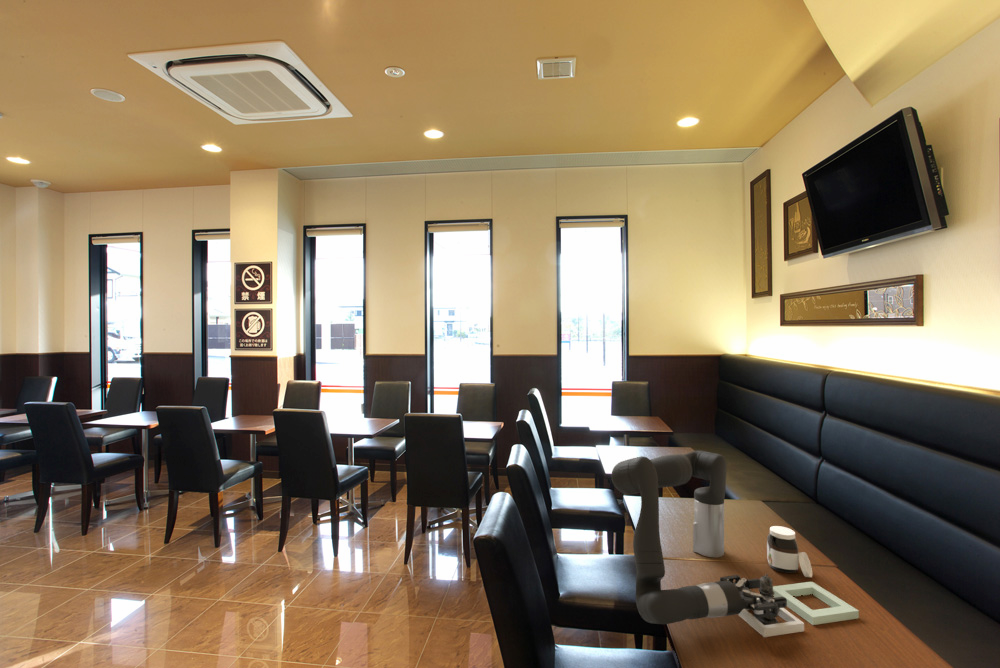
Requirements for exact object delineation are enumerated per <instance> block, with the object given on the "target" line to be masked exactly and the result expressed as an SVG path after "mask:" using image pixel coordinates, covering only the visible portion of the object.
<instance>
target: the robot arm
mask: <svg viewBox="0 0 1000 668" xmlns="http://www.w3.org/2000/svg"><path fill="white" fill-rule="evenodd" d="M727 468H728V467H727V461H726V458H725V456H724V455H723V454H720V453H716V452H715V453H714V452H709V451H705V450H693V451H690V452H687V453H685V454H682V453H681V454H680V453H679V454H669V455H667V454H666V455H662V456H658V457H655V458H652V459H651V458H648V457H647V456H636V457H633V458H629V459H625V460H622V461H619V462H618V463H617V464H615V466H614V467H613V468H612V471H611V481H612V484H613V486H614V488H616V490H617V491H619V492H620V493H622V494H624V495H637V494H640V501H641V503H640V513H639V516H638V520H637V523H636V526H635V529H634V532H633V539H632V548H633V550H632V551H633V555H634V563H635V568H636V579H635V604H636V608H637V611H638V613H639V616H640V617H641V619H643V620H644V621H645V622H647V623H650V624H656V625H669V624H676V623H680V622H682V621H687V620H696V619H705V618H712V619H715V618H721V617H728V616H736V615H738V614H739V613H740V612H741V611H742V610H743V609H751V611H752V612H753V616H754V617H758V618H759V617H769V616H777V617H779V615H778V608H784V609H785V608H787V599H786V598H785V597H776V598H775V597H773V598H772V599H771V598H767V597H764V596H763V595H762V594H760V593H757V592H754V591H752V590H753V589H754V590H755V589H759V588H760V578H750V579H749V578H748V579H747V578H745V577H742V578H741V576H740V575H739V574H732V575H727V576H720V577H719V580H718V581H710V582H703V583H700V584H696V585H695V584H694V585H687V586H681V587H678V588H672V589H662V585H661V584H662V583H661V582H662V579H663V578H664V577H665V574H666V567H665V561H664V555H663V550H662V549H663V548H662V544H661V537H660V536H661V535H660V510H659V509H660V499H659V498H660V497H659V496H660V495H659V489H660V488H670V487H671V488H673V487H678V486H683V485H685V484H687V483H688V482H689V481H690V480H691V478H692V477H694V478H697V479H701V480H705V481H709V486H704V487H703V486H702V487H698V488H696V489H694V492H693V499H694V500H693V501H694V502H693V508H694V510H693V511H694V512H693V517H694V519H693V523H692V528H693V529H692V534H693V535H692V537H693V539H692V541H693V542H692V544H693V545H692V548H693V549H692V551H693V552H694V553H697V554H699V555H701V556H705V557H709V558H721V557H723V556H725V498H726V497H725V496H726V489H727V487H726V486H727V484H726V483H727V470H728V469H727ZM757 598H759V599H760V604H759V603H757ZM764 601H766V602H769V603H767V604H763V602H764ZM756 603H757V604H756Z"/></svg>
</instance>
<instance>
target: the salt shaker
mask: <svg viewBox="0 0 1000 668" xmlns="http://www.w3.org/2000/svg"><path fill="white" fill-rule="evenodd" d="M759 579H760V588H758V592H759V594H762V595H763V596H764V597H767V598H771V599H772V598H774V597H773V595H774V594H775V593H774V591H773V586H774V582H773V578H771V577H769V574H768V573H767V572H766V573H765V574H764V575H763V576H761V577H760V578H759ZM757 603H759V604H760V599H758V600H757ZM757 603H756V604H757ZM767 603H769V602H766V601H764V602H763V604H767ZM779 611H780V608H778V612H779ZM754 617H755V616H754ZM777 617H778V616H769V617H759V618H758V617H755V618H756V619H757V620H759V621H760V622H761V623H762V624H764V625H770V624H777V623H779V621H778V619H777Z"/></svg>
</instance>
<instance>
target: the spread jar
mask: <svg viewBox="0 0 1000 668" xmlns="http://www.w3.org/2000/svg"><path fill="white" fill-rule="evenodd" d="M766 537H767V538H766V557H767V563H768V566H769V567H770V568H771V569H773V570H774V569H775V571H776V572H779V571H780V572H779V573H783V572H785V573H784V574H793V573H796V572H798V570H799V566H800V570H801V572H802V574H803V576H804V577H805V578H813V569H812V563H811V561H810V559H809V558H810V557H809V556H808V554H807V553H806V552H805V551H800V552H799V545H798V543H797V540H796V532H795V530H792V529H791V528H789V527H785V526H782V525H781V526H780V525H772V526H770V527H769V533H768V534H767V536H766Z"/></svg>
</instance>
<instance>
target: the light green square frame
mask: <svg viewBox="0 0 1000 668" xmlns="http://www.w3.org/2000/svg"><path fill="white" fill-rule="evenodd" d="M773 591H774V593H775V594H774V595H773V596H774V597H773V598H776V597H785V598H786V599H787V606H786V608H788V609H790V610H791V611H793V612H794V613H795V614H797V615H798V616H799V617H800V618H802V619H803V620H805V621H806V622H807V623H809V624H811V625H812V626H816V625H822V624H829V623H836V622H842V621H850V620H855V619H856V620H857V619H859V618H860V614H859V612H860V610H859V609H857V608H855V607H854V606H852V605H850V603H847V601H846V602H845V601H844V600H843V599H841V598H839V597H838V596H836V595H835V594H833V593H832V592H830V591H828V590H826V589H825V588H823V587H821V586H820V585H819V584H817V583H816V582H813V581H805V582H797V583H791V584H783V585H782V584H781V585H773ZM810 594H811V595H812V594H813V597H816V598H817V599H819V600H820V601H822V602H823V603H825V604H827V606H829V607H825V608H819V609H811V607H809V606H807V605H806V604H805V603H803V602H801V601H800V600H799V599H797V598H796V597H801V595H803V596H809V595H810ZM793 596H795V597H793Z"/></svg>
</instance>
